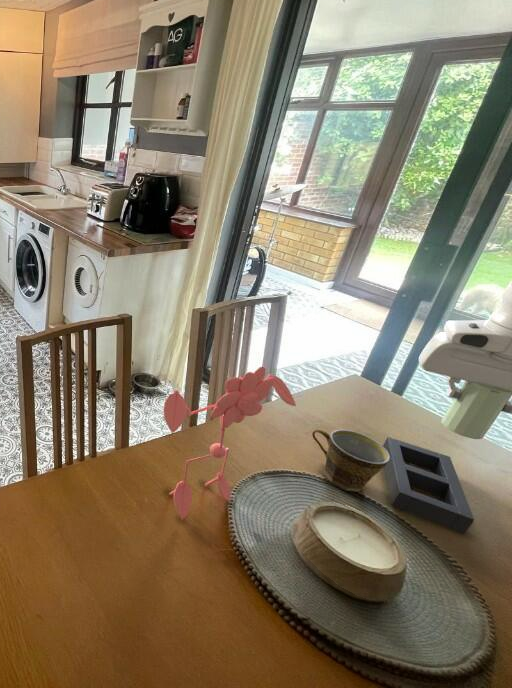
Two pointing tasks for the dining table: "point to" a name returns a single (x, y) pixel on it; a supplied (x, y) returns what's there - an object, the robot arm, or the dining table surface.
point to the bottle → (475, 409)
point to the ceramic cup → (352, 458)
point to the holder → (426, 485)
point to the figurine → (223, 422)
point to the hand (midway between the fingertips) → (477, 403)
